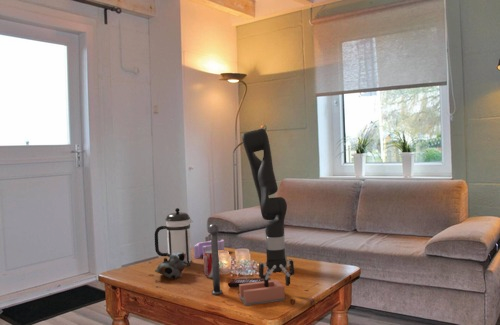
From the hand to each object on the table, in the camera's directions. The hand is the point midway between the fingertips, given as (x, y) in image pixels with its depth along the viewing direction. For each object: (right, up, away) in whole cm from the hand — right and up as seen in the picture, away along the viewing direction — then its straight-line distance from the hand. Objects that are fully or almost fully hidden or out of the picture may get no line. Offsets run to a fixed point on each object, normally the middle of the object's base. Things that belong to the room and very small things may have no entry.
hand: (277, 286), depth 176 cm
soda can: (-29, -4, +31) cm, 43 cm away
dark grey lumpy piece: (-49, -5, +34) cm, 60 cm away
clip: (-34, -3, +73) cm, 81 cm away
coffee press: (-49, -4, +55) cm, 74 cm away
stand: (-25, -5, +6) cm, 26 cm away
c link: (-6, -4, -1) cm, 7 cm away
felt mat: (-6, -4, -1) cm, 8 cm away
